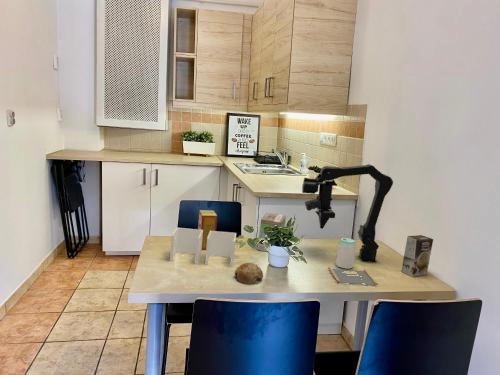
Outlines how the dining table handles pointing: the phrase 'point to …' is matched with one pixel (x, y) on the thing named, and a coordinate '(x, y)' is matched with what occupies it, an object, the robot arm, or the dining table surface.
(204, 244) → the baking soda box
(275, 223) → the tea box
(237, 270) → the bread roll
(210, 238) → the zigzag folding screen
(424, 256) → the coffee box
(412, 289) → the dining table surface
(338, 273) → the mat
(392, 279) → the dining table surface
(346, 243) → the can
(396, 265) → the dining table surface
